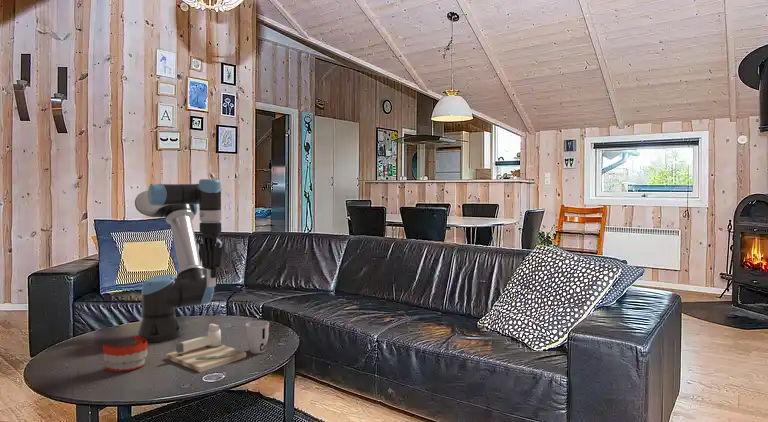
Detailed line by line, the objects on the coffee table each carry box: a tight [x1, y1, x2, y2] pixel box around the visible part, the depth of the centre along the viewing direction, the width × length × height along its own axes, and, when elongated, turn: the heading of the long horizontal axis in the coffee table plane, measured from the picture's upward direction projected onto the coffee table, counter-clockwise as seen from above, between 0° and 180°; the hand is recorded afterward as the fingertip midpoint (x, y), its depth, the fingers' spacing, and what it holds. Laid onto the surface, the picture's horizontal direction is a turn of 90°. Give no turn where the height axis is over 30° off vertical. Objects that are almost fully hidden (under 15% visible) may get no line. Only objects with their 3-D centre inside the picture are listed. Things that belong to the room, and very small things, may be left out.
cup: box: [245, 320, 270, 355], centre depth 187 cm, size 8×8×10 cm
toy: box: [102, 335, 149, 373], centre depth 171 cm, size 12×10×8 cm
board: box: [165, 342, 247, 373], centre depth 181 cm, size 20×18×2 cm
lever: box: [176, 323, 222, 353], centre depth 183 cm, size 17×5×7 cm, turn 142°
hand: (211, 286), depth 191 cm, fingers closed
